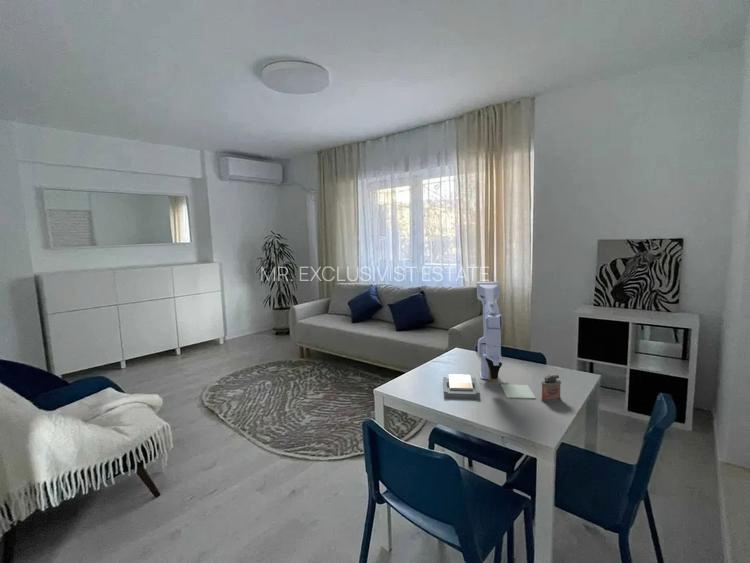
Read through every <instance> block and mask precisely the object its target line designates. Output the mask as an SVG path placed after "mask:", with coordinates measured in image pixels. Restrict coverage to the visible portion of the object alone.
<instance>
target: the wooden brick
mask: <svg viewBox="0 0 750 563" xmlns="http://www.w3.org/2000/svg"><path fill="white" fill-rule="evenodd" d="M498 377H499V376H498ZM498 377H497V379H492V378H491V374H490V369H489V379H488V381H489V384H499V379H498Z"/></svg>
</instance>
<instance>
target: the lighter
mask: <svg viewBox="0 0 750 563" xmlns="http://www.w3.org/2000/svg"><path fill="white" fill-rule="evenodd" d="M561 384H562V381H561V379H560V375H559V374H558V373H557V374H552V375H551V374H548V375H546V376H544V380H542V381H541V402H543V403H545V404H546V403H547V404H549V403H554V402H560V401H561V400H562V397H561Z"/></svg>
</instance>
